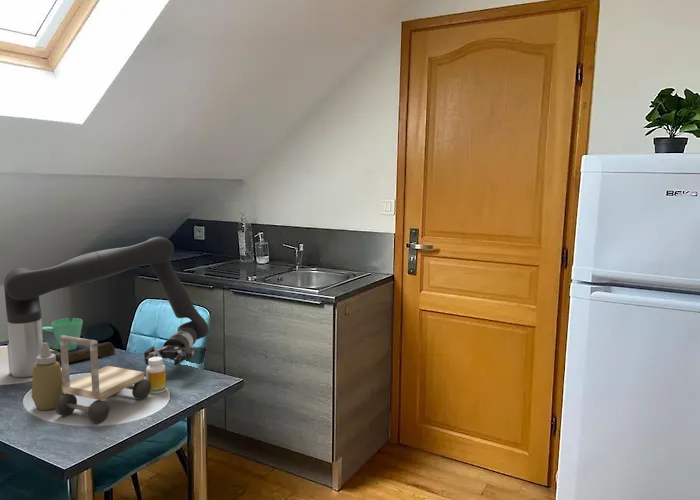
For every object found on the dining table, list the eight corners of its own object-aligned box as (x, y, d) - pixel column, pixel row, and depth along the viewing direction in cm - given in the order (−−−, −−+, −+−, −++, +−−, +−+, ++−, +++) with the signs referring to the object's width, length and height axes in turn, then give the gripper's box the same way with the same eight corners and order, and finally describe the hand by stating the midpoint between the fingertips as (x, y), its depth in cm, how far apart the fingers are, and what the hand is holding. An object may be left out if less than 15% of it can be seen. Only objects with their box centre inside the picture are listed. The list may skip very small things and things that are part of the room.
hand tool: (58, 368, 183) (57, 354, 182) (54, 364, 186) (54, 351, 185) (117, 355, 196) (116, 343, 195) (113, 352, 199) (112, 340, 198)
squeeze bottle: (42, 415, 148) (38, 349, 146) (26, 408, 153) (21, 344, 150) (71, 404, 155) (68, 341, 152) (55, 397, 159) (51, 336, 157)
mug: (77, 342, 208) (76, 316, 206) (88, 348, 201) (86, 321, 200) (34, 351, 197) (32, 324, 196) (44, 358, 191) (42, 330, 189)
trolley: (55, 418, 147) (49, 337, 144) (116, 388, 167) (112, 317, 164) (93, 427, 142) (89, 344, 139) (151, 395, 162) (148, 322, 159)
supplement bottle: (169, 390, 166) (168, 359, 164) (151, 395, 162) (150, 363, 161) (161, 385, 170) (160, 354, 168) (143, 389, 166) (142, 358, 165)
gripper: (156, 333, 185) (137, 349, 169) (199, 334, 185) (184, 350, 169) (157, 355, 186) (138, 373, 170) (200, 356, 186) (185, 374, 170)
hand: (161, 362), depth 169 cm, fingers open, 8 cm apart
